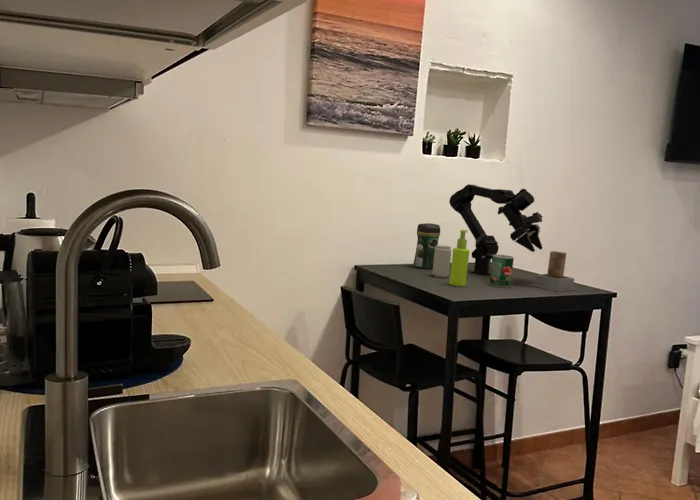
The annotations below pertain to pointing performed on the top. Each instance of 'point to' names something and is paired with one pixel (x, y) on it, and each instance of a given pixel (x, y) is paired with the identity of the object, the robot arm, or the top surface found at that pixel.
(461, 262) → the soap dispenser
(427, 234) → the coffee jar
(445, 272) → the beverage can
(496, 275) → the canned tomato
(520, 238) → the robot arm
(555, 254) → the brown wooden block
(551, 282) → the grey square tray
